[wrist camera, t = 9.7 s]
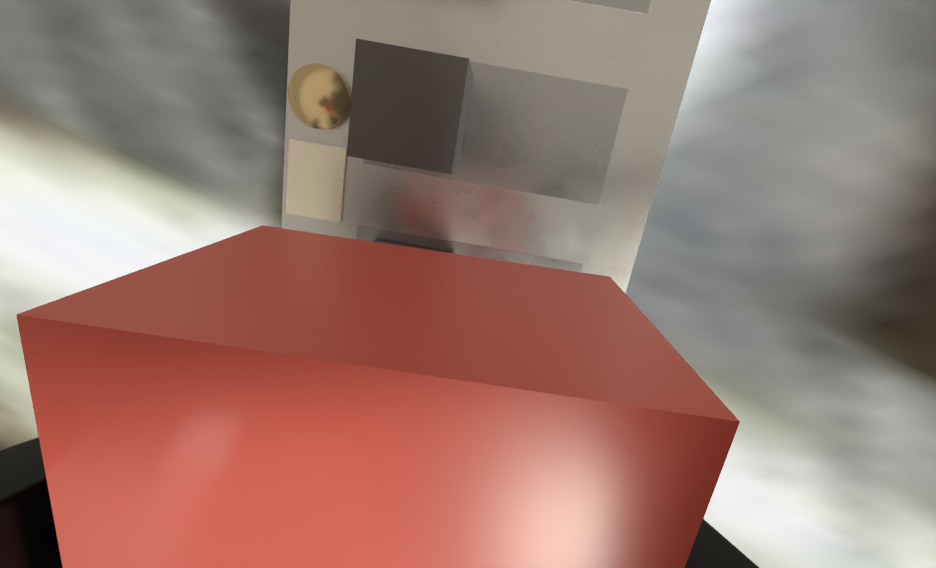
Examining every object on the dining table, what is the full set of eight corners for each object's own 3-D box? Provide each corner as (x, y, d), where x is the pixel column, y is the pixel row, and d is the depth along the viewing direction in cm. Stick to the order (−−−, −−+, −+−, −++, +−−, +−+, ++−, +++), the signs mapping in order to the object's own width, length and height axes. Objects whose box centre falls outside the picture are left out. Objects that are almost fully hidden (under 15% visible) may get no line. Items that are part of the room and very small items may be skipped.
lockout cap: (610, 276, 8) (739, 421, 4) (543, 545, 10) (582, 839, 6) (262, 225, 8) (17, 314, 4) (263, 504, 10) (98, 764, 6)
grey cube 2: (473, 74, 15) (469, 58, 12) (458, 168, 16) (451, 174, 13) (382, 58, 15) (356, 38, 12) (373, 153, 15) (346, 155, 13)
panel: (736, -169, 14) (783, -230, 12) (581, 384, 20) (593, 415, 18) (328, -243, 14) (296, -318, 12) (296, 334, 20) (271, 359, 18)
